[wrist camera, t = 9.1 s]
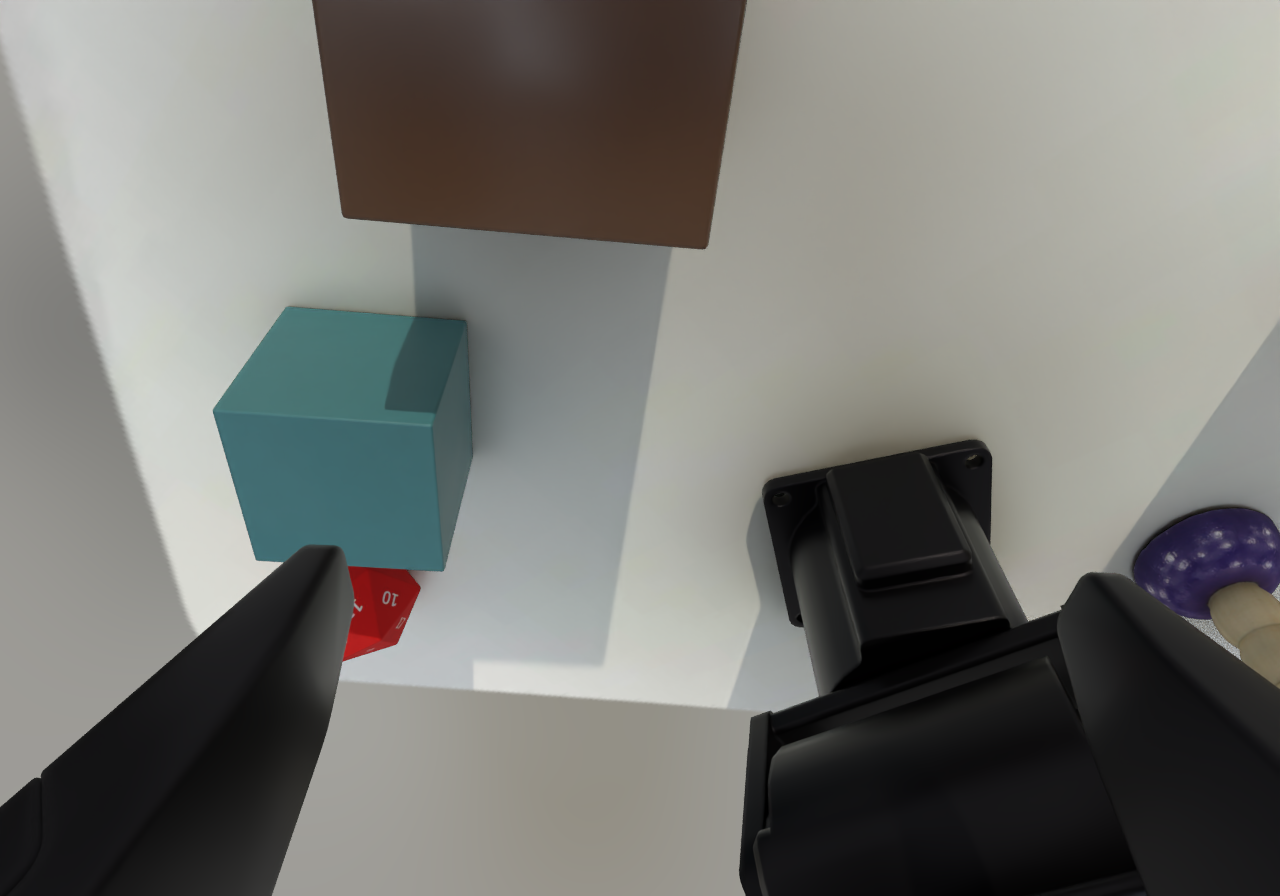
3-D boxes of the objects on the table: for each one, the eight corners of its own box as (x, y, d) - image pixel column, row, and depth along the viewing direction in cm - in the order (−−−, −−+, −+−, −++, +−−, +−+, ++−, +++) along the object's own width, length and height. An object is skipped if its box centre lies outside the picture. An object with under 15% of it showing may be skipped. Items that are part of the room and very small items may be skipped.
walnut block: (688, 146, 18) (707, 251, 13) (413, 120, 17) (340, 220, 13) (734, -203, 14) (781, -215, 10) (386, -247, 13) (269, -281, 9)
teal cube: (473, 457, 23) (444, 572, 19) (313, 446, 23) (255, 561, 19) (466, 320, 20) (432, 425, 17) (286, 305, 20) (210, 410, 16)
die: (292, 626, 26) (337, 709, 23) (254, 551, 24) (299, 634, 21) (396, 572, 27) (448, 645, 25) (369, 498, 25) (424, 569, 23)
